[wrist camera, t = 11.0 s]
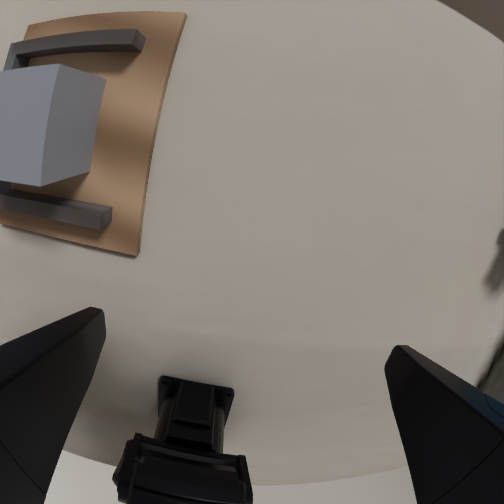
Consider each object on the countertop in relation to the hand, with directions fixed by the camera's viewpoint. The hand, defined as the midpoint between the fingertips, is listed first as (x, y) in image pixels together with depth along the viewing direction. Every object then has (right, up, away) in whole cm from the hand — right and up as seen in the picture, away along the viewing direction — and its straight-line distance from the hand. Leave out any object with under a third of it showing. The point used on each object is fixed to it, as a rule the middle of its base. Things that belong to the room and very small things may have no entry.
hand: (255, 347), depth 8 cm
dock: (-12, +11, +8) cm, 18 cm away
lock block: (-12, +11, +7) cm, 18 cm away
